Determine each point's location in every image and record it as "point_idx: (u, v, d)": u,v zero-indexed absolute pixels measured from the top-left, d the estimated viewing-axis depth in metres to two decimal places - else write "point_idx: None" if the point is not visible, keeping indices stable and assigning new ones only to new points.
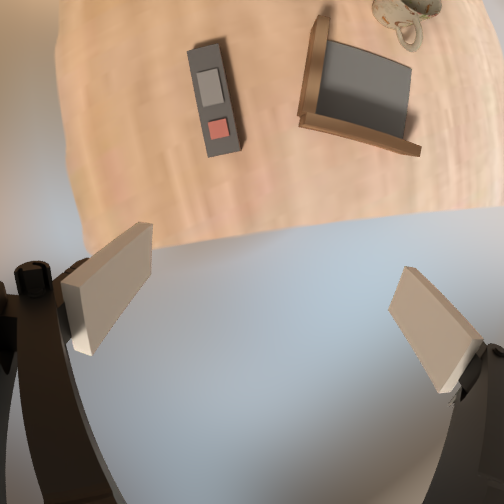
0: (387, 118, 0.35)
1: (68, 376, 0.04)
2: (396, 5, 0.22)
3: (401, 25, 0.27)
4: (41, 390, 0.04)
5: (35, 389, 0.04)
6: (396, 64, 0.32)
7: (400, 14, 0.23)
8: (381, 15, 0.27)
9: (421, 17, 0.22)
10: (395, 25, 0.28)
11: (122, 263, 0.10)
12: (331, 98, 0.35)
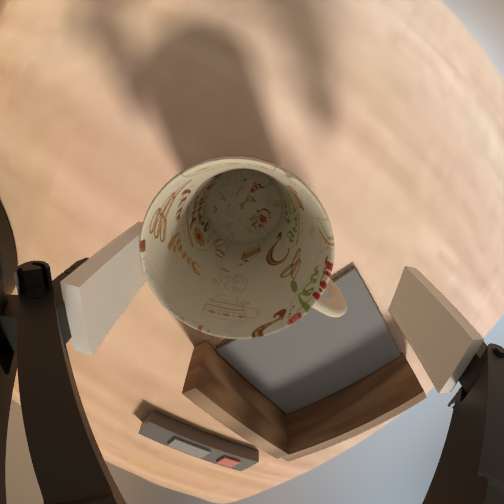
0: (367, 355, 0.26)
1: (68, 376, 0.04)
2: None
3: None
4: (41, 390, 0.04)
5: (35, 389, 0.04)
6: None
7: None
8: None
9: None
10: None
11: (122, 263, 0.10)
12: (290, 391, 0.28)
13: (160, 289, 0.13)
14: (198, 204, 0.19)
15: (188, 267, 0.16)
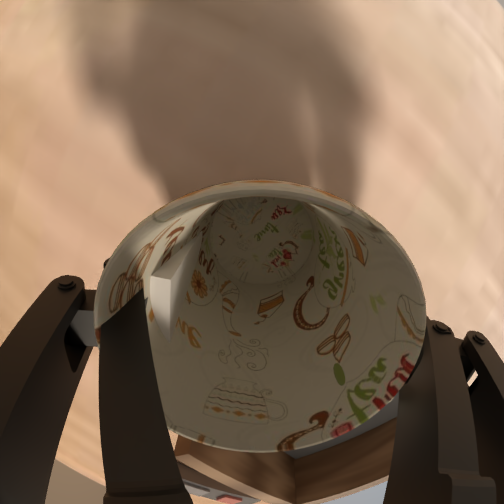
0: (391, 402, 0.20)
1: (154, 371, 0.05)
2: None
3: None
4: (123, 382, 0.05)
5: (116, 380, 0.05)
6: None
7: None
8: None
9: (358, 394, 0.08)
10: None
11: (191, 258, 0.12)
12: None
13: None
14: None
15: (183, 338, 0.10)
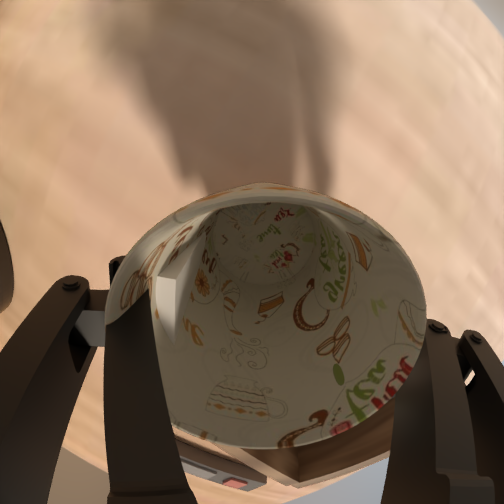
0: None
1: (159, 371, 0.05)
2: None
3: None
4: (128, 381, 0.05)
5: (121, 380, 0.05)
6: None
7: None
8: None
9: (357, 394, 0.08)
10: None
11: (195, 258, 0.12)
12: None
13: None
14: None
15: (187, 336, 0.11)
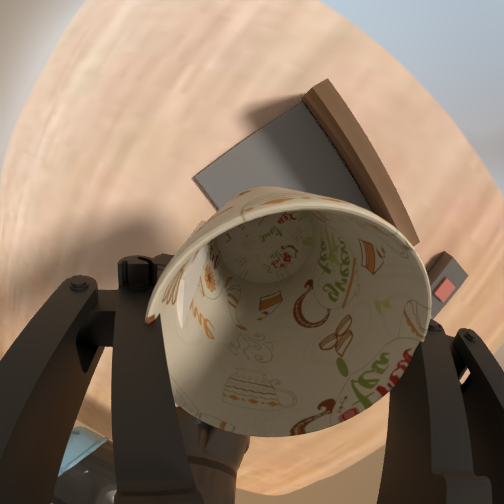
0: (295, 144, 0.26)
1: (167, 372, 0.05)
2: None
3: None
4: (136, 381, 0.05)
5: (129, 379, 0.05)
6: (213, 197, 0.28)
7: None
8: None
9: (360, 384, 0.10)
10: None
11: (201, 258, 0.12)
12: None
13: None
14: None
15: (201, 329, 0.11)
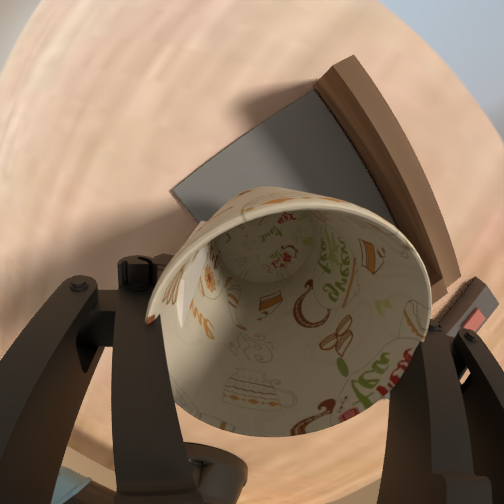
0: (305, 146, 0.19)
1: (167, 372, 0.05)
2: None
3: None
4: (136, 381, 0.05)
5: (129, 379, 0.05)
6: (197, 216, 0.21)
7: None
8: None
9: (361, 384, 0.10)
10: None
11: (201, 258, 0.12)
12: None
13: None
14: None
15: (200, 329, 0.11)
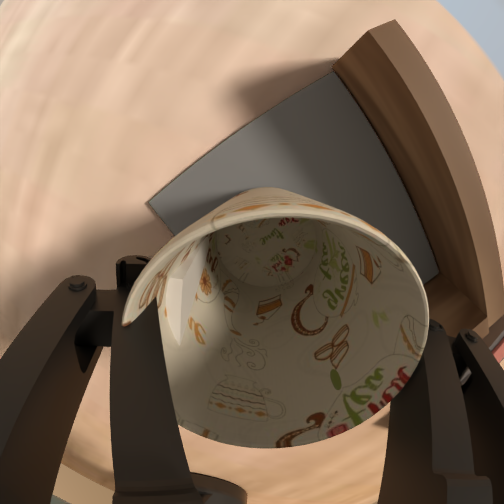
0: (322, 144, 0.14)
1: (166, 372, 0.05)
2: None
3: None
4: (134, 381, 0.05)
5: (128, 379, 0.05)
6: None
7: None
8: None
9: (353, 399, 0.09)
10: None
11: (200, 258, 0.12)
12: None
13: None
14: (209, 235, 0.13)
15: (190, 334, 0.11)
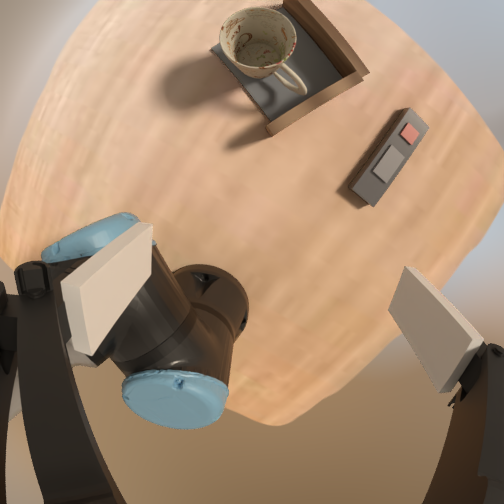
0: None
1: (68, 376, 0.04)
2: (253, 70, 0.27)
3: (276, 70, 0.31)
4: (41, 390, 0.04)
5: (35, 389, 0.04)
6: (223, 59, 0.34)
7: (264, 72, 0.28)
8: (252, 76, 0.32)
9: (284, 61, 0.26)
10: (271, 73, 0.32)
11: (122, 263, 0.10)
12: (313, 75, 0.34)
13: (223, 45, 0.25)
14: (237, 48, 0.31)
15: (231, 56, 0.28)
